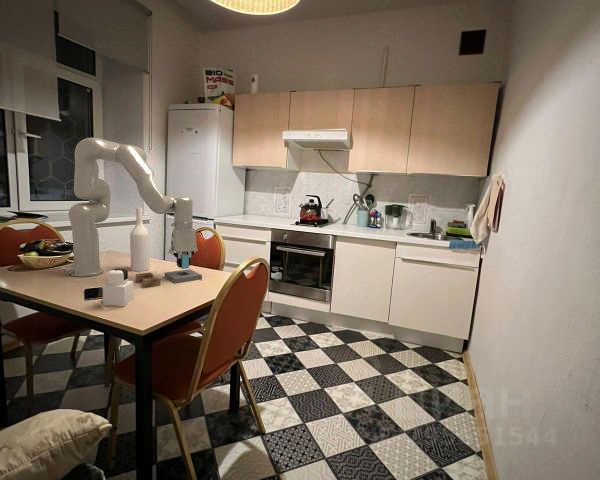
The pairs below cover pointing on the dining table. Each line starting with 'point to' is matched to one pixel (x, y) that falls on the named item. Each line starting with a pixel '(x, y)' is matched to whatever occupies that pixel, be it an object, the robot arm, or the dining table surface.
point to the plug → (185, 261)
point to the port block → (182, 276)
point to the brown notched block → (147, 280)
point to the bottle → (139, 244)
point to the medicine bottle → (118, 288)
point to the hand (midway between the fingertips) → (183, 266)
